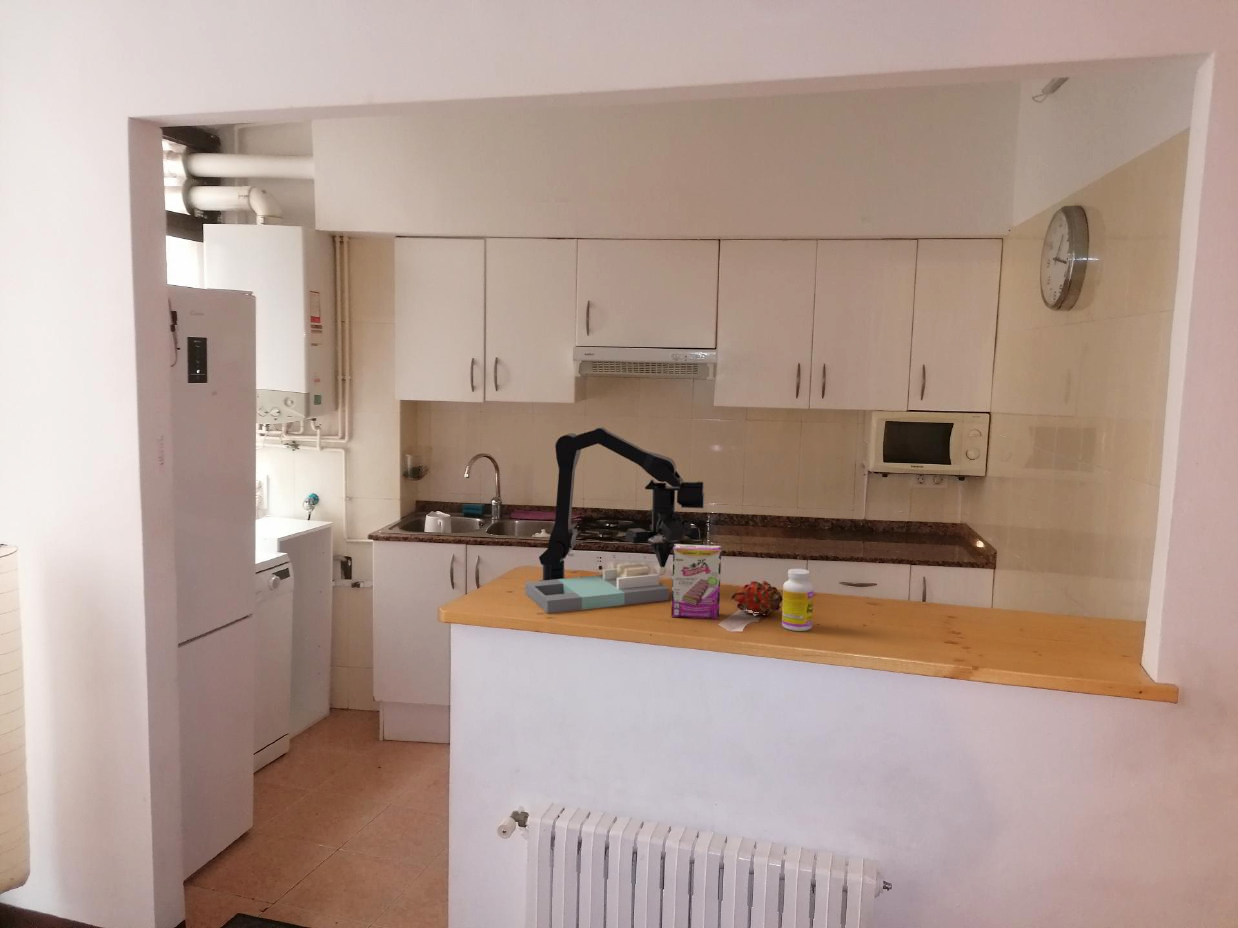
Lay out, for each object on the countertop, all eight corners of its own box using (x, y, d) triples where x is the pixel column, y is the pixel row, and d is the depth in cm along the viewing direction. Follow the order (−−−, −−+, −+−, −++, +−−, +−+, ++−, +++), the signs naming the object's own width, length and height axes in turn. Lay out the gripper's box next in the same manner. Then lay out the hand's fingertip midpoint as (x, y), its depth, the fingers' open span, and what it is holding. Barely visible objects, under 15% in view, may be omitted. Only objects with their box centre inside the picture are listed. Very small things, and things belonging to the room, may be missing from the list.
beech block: (616, 579, 222) (617, 564, 221) (638, 577, 224) (638, 562, 223) (626, 585, 216) (626, 569, 216) (648, 583, 218) (648, 567, 218)
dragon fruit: (785, 624, 201) (734, 626, 204) (786, 595, 207) (736, 598, 211) (780, 600, 196) (727, 603, 199) (780, 572, 202) (729, 575, 205)
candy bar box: (671, 617, 200) (672, 547, 198) (671, 611, 205) (673, 543, 203) (720, 619, 199) (721, 549, 197) (719, 613, 203) (721, 544, 201)
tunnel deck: (525, 593, 219) (525, 572, 218) (639, 582, 231) (639, 562, 230) (547, 613, 202) (547, 590, 202) (669, 599, 214) (669, 578, 214)
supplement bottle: (809, 633, 189) (811, 575, 188) (779, 629, 191) (781, 573, 190) (814, 624, 195) (816, 569, 194) (784, 621, 198) (786, 566, 196)
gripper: (643, 514, 210) (642, 577, 212) (711, 510, 217) (709, 571, 219) (625, 507, 220) (624, 567, 222) (690, 503, 227) (689, 561, 229)
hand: (662, 566), depth 223 cm, fingers closed
